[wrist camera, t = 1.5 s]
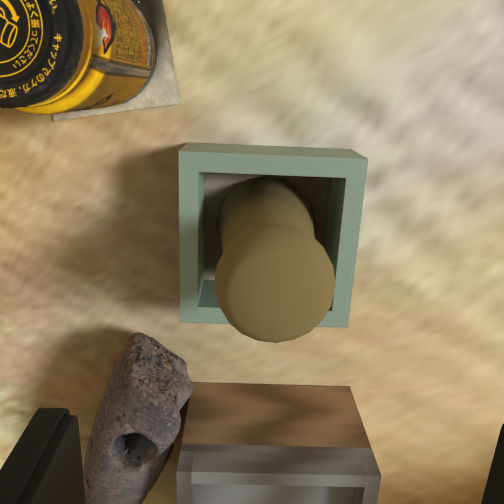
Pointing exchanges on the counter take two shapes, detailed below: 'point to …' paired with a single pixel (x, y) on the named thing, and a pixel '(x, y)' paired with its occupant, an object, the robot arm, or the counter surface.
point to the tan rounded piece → (271, 262)
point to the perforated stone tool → (135, 423)
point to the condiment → (85, 57)
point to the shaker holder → (268, 163)
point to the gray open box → (275, 446)
